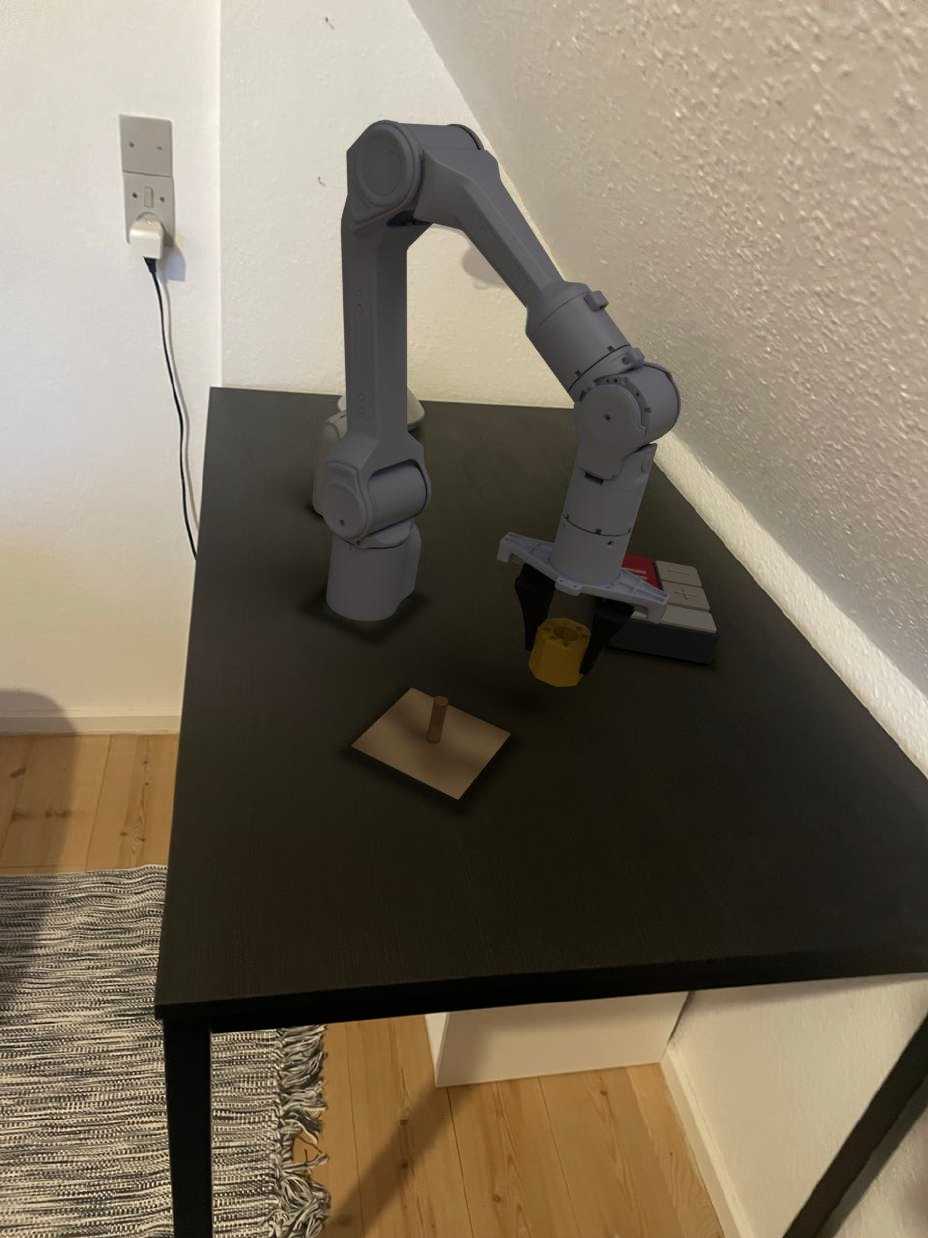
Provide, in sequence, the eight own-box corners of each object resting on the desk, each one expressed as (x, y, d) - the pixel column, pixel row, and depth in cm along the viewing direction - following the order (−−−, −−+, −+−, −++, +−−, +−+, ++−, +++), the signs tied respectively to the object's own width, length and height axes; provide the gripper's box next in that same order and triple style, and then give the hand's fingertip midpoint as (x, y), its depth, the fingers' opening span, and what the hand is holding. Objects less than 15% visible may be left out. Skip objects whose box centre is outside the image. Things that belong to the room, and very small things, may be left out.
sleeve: (542, 648, 85) (552, 611, 83) (588, 668, 84) (600, 631, 82) (521, 672, 82) (531, 634, 79) (570, 693, 80) (581, 655, 78)
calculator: (700, 564, 108) (724, 630, 95) (689, 596, 110) (711, 665, 97) (606, 546, 108) (617, 610, 95) (597, 579, 110) (606, 646, 97)
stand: (410, 694, 85) (418, 649, 82) (509, 740, 82) (521, 695, 79) (349, 753, 77) (356, 705, 74) (456, 806, 74) (467, 759, 71)
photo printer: (369, 488, 118) (381, 394, 111) (393, 502, 116) (407, 407, 109) (305, 507, 111) (314, 408, 104) (330, 523, 109) (340, 422, 102)
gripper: (494, 503, 74) (464, 645, 81) (669, 571, 69) (621, 714, 77) (530, 476, 79) (499, 611, 87) (694, 537, 75) (647, 673, 82)
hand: (558, 657), depth 82 cm, fingers closed on sleeve, 4 cm apart
